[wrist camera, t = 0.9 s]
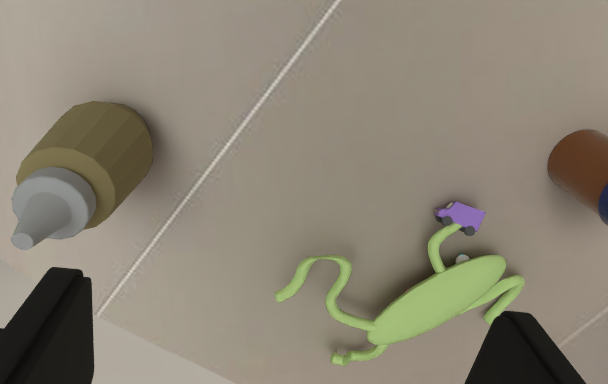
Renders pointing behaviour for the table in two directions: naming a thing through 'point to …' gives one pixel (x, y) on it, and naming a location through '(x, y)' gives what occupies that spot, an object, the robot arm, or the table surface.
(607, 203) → the jar lid
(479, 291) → the figurine
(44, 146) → the squeeze bottle
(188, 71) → the table surface
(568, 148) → the jam jar
